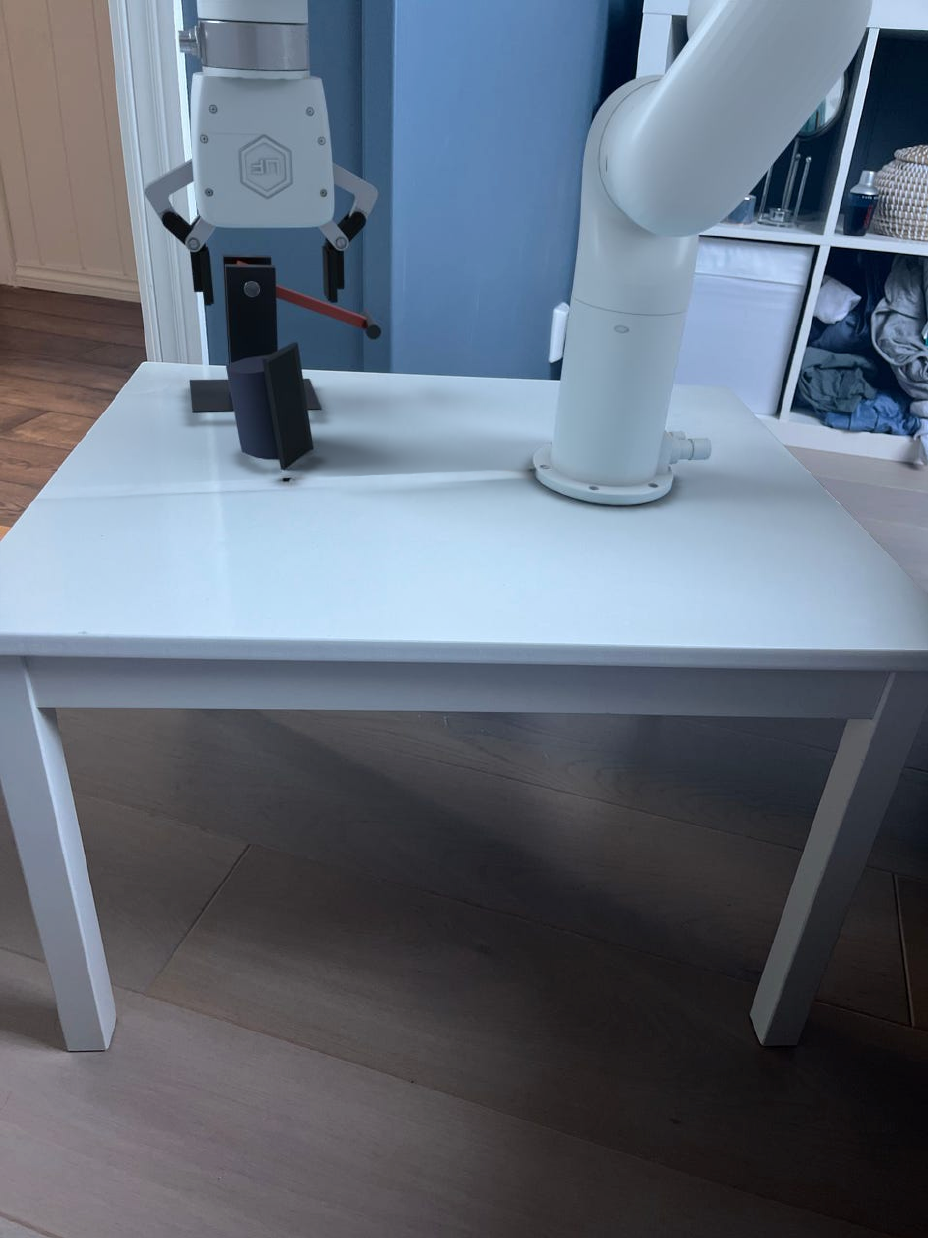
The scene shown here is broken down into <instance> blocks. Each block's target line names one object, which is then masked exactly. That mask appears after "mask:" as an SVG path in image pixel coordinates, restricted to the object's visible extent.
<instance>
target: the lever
mask: <svg viewBox="0 0 928 1238" xmlns="http://www.w3.org/2000/svg"><path fill="white" fill-rule="evenodd" d="M237 264H238V265H249V264H246V263H244V262H241V261H237ZM276 299H278V300H282V301H283V302H287V303H290V304H292V305H294V306H298V307H301V308H303V309H306V310H309V311H312V312H314V313H318V314H320V315H323V316H325V317H329V318H331V319H334V320H336V321H340V322H342V323H345V324H347V325H351V326H354V327H356V328H359V329H362V330H363V331H364V333H365V334H366V336H367V338H368V339H370V340H377V339H379V338H380V337H381V335H382V328H381V327H380V325H379V324H378V323H377V321H376V319H375V318H374V316H373V315H372V314H371V312H370V311H368V310H362V311H360V312H359V313H356V312H353V311H350V310H347V309H345V308H342V307H340V306H338V305H334V304H333V303H329V302H326V301H323V300H321V299H318V298H315V297H313V296H309V295H307V294H305V293H302V292H299V291H297V290H293V289H292V288H288V287H285V286H283V285H281V284H278V283H276Z"/></svg>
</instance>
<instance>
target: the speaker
mask: <svg viewBox="0 0 928 1238" xmlns="http://www.w3.org/2000/svg"><path fill="white" fill-rule="evenodd" d="M225 371H226V375H227V380H228V381H229V386H230V392H231V397H232V403H233V408H234V412H233V413H234V418H235V423H236V425H235V426H236V429H237V435H238V440H239V445H240V449H241V452H242V453H244V454H246V455H248V456H251V457H253V458H256V459H262V460H278V461H279V468H280V471H281V470H282V471H286V469H287V468H289V467H290V466H291V465H292V464H294V463H295V462H297V461H298V460H299V459H300V458H302V457H303V456H305V455H306V454H307V453H308V452H310V451H312V450H314V442H313V436H312V429H311V423H310V416H309V410H308V408H307V402H306V395H305V388H304V382H303V379H304V376H303V369H302V362H301V357H300V350H299V342H295V341H294V342H291V343H290V344H288V345H286V346H283V347H282V348H280V349H278V351H276V352H274V353H272V354H270V355H263V356H257V357H250V358H245V359H242V360H239V361H236V362H233V363H230V364H228V363H227V365H226V366H225ZM281 479H282V482H285V483H288V482H289V481H291V480H292V477H282V478H281Z"/></svg>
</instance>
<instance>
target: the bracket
mask: <svg viewBox="0 0 928 1238" xmlns="http://www.w3.org/2000/svg"><path fill="white" fill-rule="evenodd" d="M237 261H241V262H244V263H246V264H249V265H238V264H237ZM222 272H223V273H222V274H223V290H224V291H223V293H224V308H225V309H224V311H225V326H226V327H225V328H226V329H225V330H226V344H227V345H226V346H227V365H228V364H230V363H233V362H236V361H239V360H242V359H245V358H250V357H257V356H263V355H270V354H272V353H274V352H276V351H278V350H279V341H278V339H279V337H278V306H277V305H278V304H277V298H276V284H277V269H276V265H274V264H272V257H271V255H269V254H227V253H226V254H222ZM303 382H304V388H305V395H306V402H307V408H308V411H322V407H321V405H320V403H319V399H318V398H317V395H316V392H315V389H314V387H313V385H312V382H311V380H310V378H303ZM189 389H190V401H191V412H192V413H193V414H194V413H196V414H197V413H202V414H203V413H205V414H206V413H234V408H233V403H232V397H231V392H230V386H229V381H228V379H189Z"/></svg>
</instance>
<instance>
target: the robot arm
mask: <svg viewBox="0 0 928 1238" xmlns="http://www.w3.org/2000/svg"><path fill="white" fill-rule="evenodd" d="M308 5H309V3H308V0H196V10H197V18H198V20H197V25H194V28H188V30H177V34H178V45H179V53H180V54H181V53H183V54H190V55H191V56H196V58H197V59H199V60H200V61H201V64H202V66H201V68H202V71H198V72H197V71H196V72H194V73H192V77H191V78H192V79H191V80H192V81H191V88H190V89H191V90H190V145H191V158H190V159H189V160H187V161H185V162H183V163H181V164H180V165H178V166H176V167H174V168H173V169H171V170H169V171H167V172H166V173H163V174H162V175H160V176H158V177H157V178H155V179H154V180H152V181H150V182H148V183H146V184H145V186H144V195H145V198H146V200H147V201H148V202H149V203H150V206H151V207H152V209H153V211H154V213H155V214H156V215H157V217H158V218H159V220H160V221H161V223H162V226H163V227H164V228H165V229H166V230H167V231H168V232H170V233H171V234H172V236H173V237H175V238H176V239H177V240H178V241H179V242H180V243H182V244H183V245H184V246H185V247H186V249H187V250H188V251H189V257H190V265H191V266H190V267H191V275H192V285H193V292H194V293H202V295H203V301H204V306H205V307H209V306H211V307H212V305H214V304H215V297H214V288H213V275H212V265H211V256H210V255H211V254H210V248H209V246H207V241H208V240H209V239H210V237H211V235H212V234H213V232H214V231H215V230H216V228H217V227H218V228H226V229H291V228H292V229H294V228H295V229H296V228H298V229H299V228H300V229H301V228H303V229H305V228H318V229H319V231H320V232H321V233H322V234H323V235H324V237H325V238H324V239H325V242H324V244H323V245H321V256H322V287H323V290H322V291H323V294H324V296H325V298H326V300H327V302H330V304H336V303H337V304H338V300H339V298H338V297H339V295H338V294H339V293H338V290H345V287H346V286H345V285H346V284H345V282H346V281H345V250H346V249H347V248H348V247H349V243H350V242H351V241H353V239H354V238H355V237H356V236H357V235H358V234H359V233H360V232H361V231H362V230H363V228H364V227H365V226H366V224H367V220H368V218H369V215H370V214H371V212H372V210H373V208H374V206H375V204H376V201H377V200H378V197H379V190H378V189H377V187H375V186H374V185H373V184H371V183H369V182H368V181H366V180H364V179H363V178H361V177H359V176H358V175H356V174H354V173H352V172H350V171H348V170H346V169H345V168H343V167H342V166H339V165H338V164H336V163H334V161H333V153H332V151H333V150H332V141H331V130H330V122H329V114H328V113H329V112H328V107H327V101H326V95H325V89H324V85H323V80H322V78H321V77H319V76H314V75H311V70H310V69H311V68H310V63H311V62H310V40H309V39H310V37H309V35H310V33H309V12H308V11H309V8H308V7H309V6H308ZM872 7H873V0H689V4H688V8H687V15H686V32H687V37H688V41H687V42H686V44H685V45H684V46H683V48H682V50H681V51H680V52H679V54H678V55H677V56H676V58H675V59H674V60H673V62H672V64H671V65H670V66H669V68H668V69H667V71H666V72H665V73H664V74H650V75H643V76H639V77H636V78H634V79H632V80H629V81H628V82H626V83H624V84H623V85H621V86H620V87H618V88H617V89H616V90H614V91H613V92H612V93H611V94H610V95H608V97H607V99H605V101H604V102H603V104H602V105H601V106H600V107H599V109H598V111H597V112H596V114H595V116H594V118H593V120H592V123H591V125H590V127H589V130H588V134H587V138H586V141H585V147H584V153H583V161H582V171H581V173H582V174H581V175H582V176H581V189H580V190H581V191H580V210H579V211H580V212H579V227H578V228H579V229H578V240H577V247H576V248H577V249H576V258H575V266H574V272H573V273H574V274H573V282H572V290H571V294H570V302H569V309H568V318H567V325H566V334H565V341H564V350H563V357H562V364H561V372H560V373H561V374H560V379H559V387H558V395H557V404H556V409H555V418H554V419H555V420H554V425H553V433H552V435H553V436H552V442H549V443H546V444H545V445H543V446H541V447H540V448H538V449H537V450H535V452H534V454H533V456H532V463H533V465H534V467H535V468H531V470H532V474H533V475H534V477H535V478H536V479H537V480H538V481H539V482H540V483H541V484H542V485H544V486H546V487H547V488H549V489H550V490H552V491H554V492H556V493H558V494H561V495H564V496H566V497H570V498H572V499H576V500H580V501H584V502H589V503H593V504H602V505H614V506H617V505H618V506H619V505H621V506H622V505H623V506H624V505H628V506H630V505H639V504H644V503H650V502H653V501H657V500H659V499H661V498H662V497H664V496H666V495H667V494H668V493H669V492H670V490H671V489H672V484H673V481H674V471H673V469H672V467H671V465H675V464H677V463H678V462H679V461H680V460H687V461H706V460H708V459H710V457H711V454H712V443H711V440H710V439H709V437H708V438H707V437H706V438H705V437H704V438H701V437H700V438H686V434H685V432H684V431H677V430H676V431H669V432H668V431H667V430H666V424H667V419H668V415H669V409H670V404H671V398H672V393H673V388H674V382H675V377H676V372H677V367H678V362H679V361H678V360H679V357H680V352H681V351H680V350H681V346H682V341H683V336H684V332H685V325H686V320H687V315H688V309H689V307H690V302H691V297H692V291H693V287H694V281H695V274H696V266H697V261H698V260H697V259H698V251H699V240H700V233H704V232H706V231H707V230H709V229H711V228H713V227H715V226H716V225H718V224H719V223H721V222H722V221H723V220H725V219H726V218H727V217H728V216H729V215H730V214H731V213H732V212H733V211H734V210H735V209H736V208H738V206H739V205H740V204H741V203H742V202H743V201H744V200H745V199H746V198H747V197H748V196H749V194H750V193H751V192H752V191H753V190H754V188H755V187H756V186H757V185H758V184H759V182H760V181H761V180H762V179H763V177H764V176H765V175H766V174H767V172H768V171H769V170H770V169H771V167H772V166H773V165H774V163H775V162H776V161H777V159H779V157H780V156H781V154H783V152H784V151H785V149H786V148H787V147H788V146H789V144H790V143H791V142H792V140H793V139H794V138H796V136H797V134H798V133H799V132H800V130H801V129H802V128H803V126H804V125H805V124H806V123H807V122H808V120H809V119H810V118H811V116H812V115H813V114H814V112H815V111H816V110H817V109H818V107H819V106H820V104H821V103H823V102H824V100H825V98H826V97H827V96H828V95H829V93H830V92H831V91H832V89H833V88H834V87H835V85H836V84H837V83H838V81H839V80H840V79H841V77H842V76H843V74H844V73H845V72H846V70H847V69H848V67H849V66H850V63H851V62H852V60H853V58H854V57H855V55H856V53H857V50H858V49H859V47H860V45H861V44H862V43H861V42H862V40H863V38H864V36H865V33H866V30H867V27H868V24H869V20H870V17H871V11H872ZM199 19H201V20H199ZM192 183H193V190H194V198H195V203H196V208H197V213H198V214H197V215H196V216H195V218H194V219H193V221H192V222H191V223H189V222H188V221H186V220H185V218H184V217H182V216H181V215H180V214H179V213H178V212H177V211H176V210H175V208H174V206H173V205H172V203H171V202H170V200H169V199H170V196H172V194H174V193H177V191H179V190H181V189H183V188H184V187H186V186H188V185H190V184H192ZM335 185H336V186H338V187H339V188H341V189H343V190H344V191H347V192H348V193H350V194H352V195H354V201H353V204H352V206H351V210H349V211H348V212H347V213H346V215H345V216H344V217H343V218H342V219H341V220H340V221H339V222H338V224H337V223H336V222H335V220H333V218H334V214H335Z"/></svg>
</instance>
